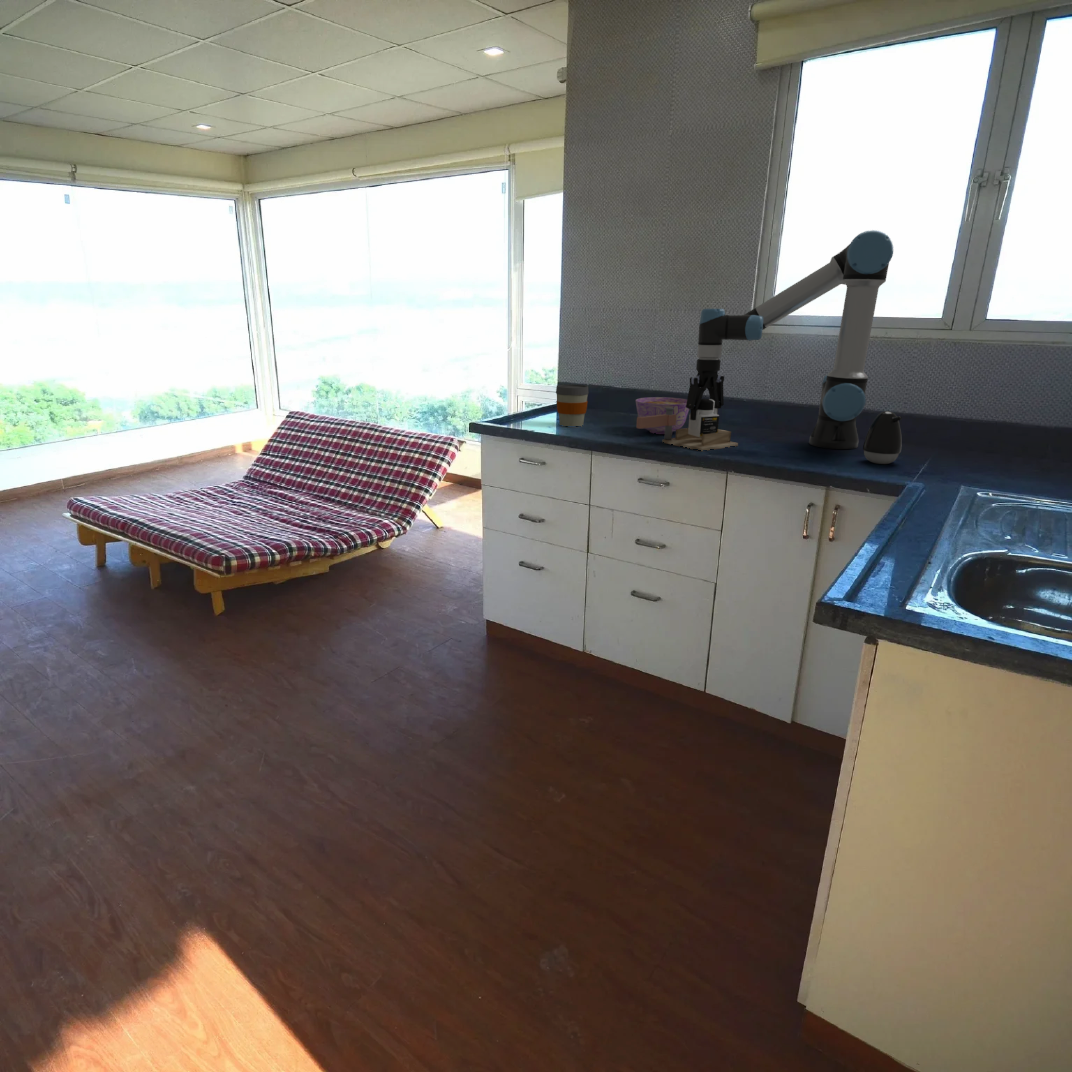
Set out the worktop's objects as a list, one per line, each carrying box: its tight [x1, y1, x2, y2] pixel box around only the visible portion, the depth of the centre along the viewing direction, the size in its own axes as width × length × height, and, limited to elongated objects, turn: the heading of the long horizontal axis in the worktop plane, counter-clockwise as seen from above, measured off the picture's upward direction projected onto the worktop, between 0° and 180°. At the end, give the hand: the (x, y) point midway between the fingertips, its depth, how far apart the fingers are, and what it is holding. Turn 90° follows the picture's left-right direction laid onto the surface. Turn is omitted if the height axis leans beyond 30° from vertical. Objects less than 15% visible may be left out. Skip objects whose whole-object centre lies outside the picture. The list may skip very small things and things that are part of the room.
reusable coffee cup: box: [555, 383, 590, 427], centre depth 265 cm, size 13×12×15 cm
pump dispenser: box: [862, 410, 903, 465], centre depth 204 cm, size 10×10×15 cm
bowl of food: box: [635, 396, 690, 435], centre depth 252 cm, size 20×20×12 cm
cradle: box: [662, 427, 739, 452], centre depth 231 cm, size 18×17×4 cm
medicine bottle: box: [687, 398, 720, 437], centre depth 229 cm, size 7×7×12 cm
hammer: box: [636, 408, 676, 440], centre depth 229 cm, size 15×3×10 cm, turn 123°
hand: (703, 428), depth 231 cm, fingers closed on medicine bottle, 8 cm apart
